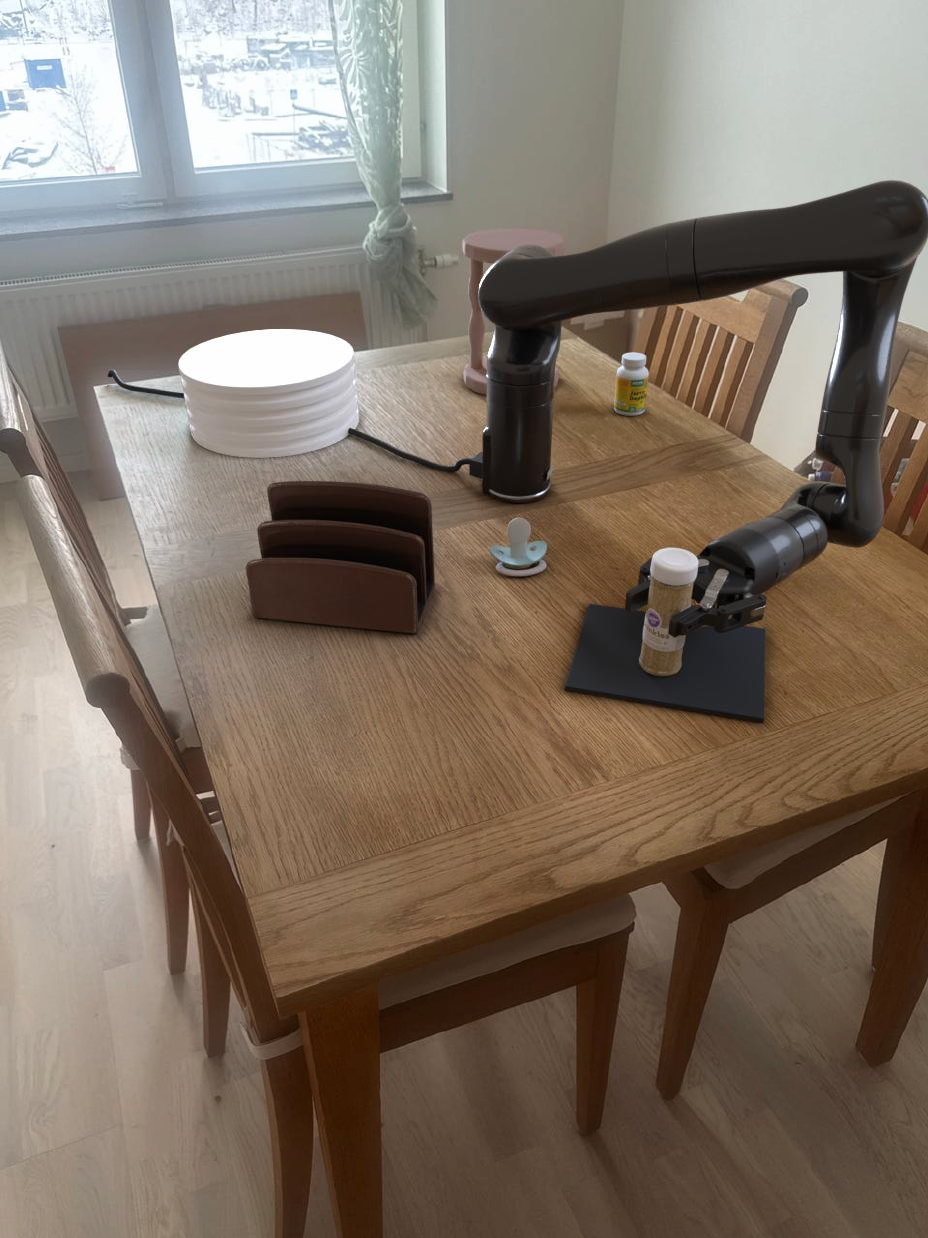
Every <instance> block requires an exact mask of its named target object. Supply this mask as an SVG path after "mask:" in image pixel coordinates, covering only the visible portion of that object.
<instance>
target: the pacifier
mask: <svg viewBox="0 0 928 1238" xmlns="http://www.w3.org/2000/svg"><path fill="white" fill-rule="evenodd" d="M531 528H532V527H531V525H530V522H529V521H528V520H526V519H525V518H523V517H515V518H513V519H512V520H510V521H509V523H508V525H507V528H506V534H507V537H508V539H509V547H506V546H502V545H490V546H489V547H488V548H489V552H490V554H491V555H492V556H493V558H495V559H496V560H497V561H498V563H497V565H496V566H495V570H496V571H497V572H498V573H499V574H501V575H505V576H508V577H529V576H533V575H537V574H540V573H542V572H543V571H545V570H546V568H547V563H546V561H545V560H543V557H544V556H545V555H546V553H547V551H548V545H547V542H546V541H544V540H535V541H531V542H529V543H528V540H529V539H530V536H531V533H532V532H531V531H532V529H531ZM532 549H534V550H532ZM533 564H536V566H535V567H532V568H529V567H531V566H532V565H533ZM527 568H528V569H527Z"/></svg>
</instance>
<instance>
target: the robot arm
mask: <svg viewBox="0 0 928 1238" xmlns="http://www.w3.org/2000/svg"><path fill="white" fill-rule="evenodd" d="M927 242H928V197H927V196H926V194H925V193H924V192H923V191H922V190H921V189H920V188H919V187H917V186H916V185H913V184H911V183H910V182H906V181H903V180H898V179H897V180H896V179H888V180H880V181H877V182H876V181H875V182H873V183H870V184H866V185H863V186H860V187H856V188H853V189H850V190H847V191H844V192H840V193H837V194H834V195H829V196H825V197H822V198H819V199H815V200H811V201H808V202H804V203H800V204H795V205H791V206H790V205H789V206H785V207H777V208H766V209H754V210H745V211H736V212H728V213H723V214H715V215H714V214H713V215H707V216H701V217H694V218H688V219H685V220H678V221H673V222H668V223H664V224H660V225H656V226H653V227H649V228H646V229H643V230H640V231H637V232H634V233H632V234H628V235H626V236H623V237H619V238H618V239H615V240H612V241H611V242H610V241H609V242H608V243H605V244H603V245H599V246H598V247H597V246H596V247H595V248H591V249H589V250H586V251H581V252H577V253H569V254H563V255H561V256H553V254H552V253H550V252H549V251H548V250H546V249H545V248H543V247H540V246H537V245H523V246H519V247H516V248H514V249H512V250H511V251H509V252H508V253H507V254H505V255H504V256H502V257H501V258H500V259H499V260H497V261H496V262H495V263H494V264H493V263H492V264H491V265H490V267H489V268H488V269H487V270H488V271H487V270H486V272H485V273H484V274H483V279H482V281H481V284H480V287H479V292H478V301H479V306H480V308H481V313H482V315H484V317H485V318H486V319H487V321H489V322H490V323H491V324H493V325H494V332H493V337H492V340H491V344H490V347H489V349H488V353H487V356H486V357H487V395H486V426H485V428H484V430H483V432H482V437H481V438H482V439H481V440H482V445H481V447H482V451H480V452H479V453H477V454H476V455H474V456H472V457H463V458H460V459H458V460H457V461H456V462H455V464H454V465H443V464H439V463H436V462H434V461H430V460H428V459H425V458H422V457H420V456H417V455H415V454H412V453H409V452H407V451H404V450H402V449H399V448H397V447H395V446H393V445H391V444H390V443H388V442H385V441H383V440H382V439H378V438H376V437H375V436H371V435H369V434H367V433H365V432H362V431H359V430H357V429H356V428H355V429H352V428H349V429H348V433H349V435H351V436H353V437H356V438H358V439H361V440H364V441H366V442H368V443H370V444H374V445H375V446H378V447H380V448H382V449H383V450H386V451H388V452H390V453H392V454H393V455H395V456H398V457H400V458H402V459H405V460H408V461H410V462H413V463H416V464H418V465H421V466H423V467H425V468H428V469H432V470H436V471H441V472H446V473H454V472H458V471H460V470H461V468H462V466H464V465H469V466H468V470H469V471H468V472H469V473H468V475H469V476H470V477H474V478H478V479H481V481H482V483H481V484H482V485H481V489H482V490H481V494H482V495H485V496H490V497H491V498H493V499H495V500H498V501H502V502H505V503H511V504H514V503H515V504H523V503H524V504H525V503H532V502H536V501H539V500H541V499H544V498H545V497H547V496H548V494H549V493H550V491H551V475H552V473H553V471H554V463H552V442H553V441H552V440H553V423H554V420H553V419H554V401H555V387H554V382H555V366H556V365H557V360H558V356H559V352H560V347H561V341H562V340H561V339H562V328H563V326H562V325H563V321H566V320H571V319H574V318H579V317H583V316H588V315H594V314H602V313H603V314H604V313H614V312H615V313H617V312H627V311H628V312H629V311H636V310H644V309H653V308H660V307H670V306H679V305H685V304H691V303H697V302H698V303H699V302H706V301H710V300H716V299H720V298H723V297H729V296H732V295H736V294H739V293H743V292H746V291H749V290H752V289H755V288H759V287H762V286H764V285H768V284H770V283H773V282H776V281H780V280H783V279H787V278H791V277H799V276H805V275H815V274H829V273H841V272H842V301H841V309H840V319H839V324H838V330H837V336H836V340H835V345H834V349H833V353H832V357H831V360H830V365H829V368H828V373H827V376H826V377H827V378H826V382H825V386H824V391H823V396H822V402H821V408H820V414H819V419H818V426H817V433H816V437H815V446H814V451H815V456H816V457H817V458H818V459H819V460H821V461H823V462H825V463H826V464H830V465H832V466H834V467H836V468H838V469H839V470H840V471H841V473H842V476H843V480H844V483H845V484H841V483H833V482H829V481H810V482H806V483H804V484H802V485H800V486H799V487H797V488H796V489H795V490H794V492H792V494H791V495H790V496H789V498H788V499H787V500H786V501H785V502H784V503H783V504H782V506H781V507H779V509H778V510H775V512H772V513H771V514H769V515H766V516H765V517H763V518H761V519H757V520H753V521H751V522H749V523H745V525H743V526H741V527H739V528H737V529H734V530H733V531H730V532H729V533H727V534H725V535H723V536H721V537H718V538H717V539H715V540H713V541H711V542H710V543H708V544H707V545H706V546H705V547H704V548H703V549H702V550H701V551H700V553H699V554H697V555H695V556H696V557H697V559H698V571H697V577H696V579H695V582H694V584H693V589H692V596H691V600H693V601H695V602H696V603H697V604H699V606H698V605H696V604H693V605H692V604H691V606H690V607H689V608H687V609H685V610H683V611H682V612H680V613H678V614H676V615H675V616H673V617H672V618H671V620H670V623H669V630H668V634H669V635H671V636H673V637H674V638H676V637H677V636H679V635H681V636H683V635H687V634H688V633H690V632H692V631H694V630H695V629H697V628H699V627H703V628H704V627H707V626H708V625H709V626H713V627H715V628H714V630H715V631H716V632H718V633H725V632H728V631H731V630H733V629H736V628H739V627H742V626H749V625H750V624H754V623H756V622H759V621H762V620H763V619H764V614H765V612H766V606H767V600H768V597H767V596H766V595H764V593H765V592H768V591H769V590H771V589H772V588H774V587H776V586H777V585H779V584H781V583H783V582H784V581H786V580H787V579H788V578H790V576H791V575H792V574H793V573H795V572H798V571H799V570H801V569H802V568H804V567H805V566H807V565H809V564H810V563H812V562H814V561H815V560H816V559H817V558H818V557H820V556H821V555H822V554H823V552H824V551H825V550H826V548H827V545H828V544H832V545H833V544H834V545H837V546H842V547H847V548H853V549H859V548H863V547H866V546H868V545H869V544H870V543H872V542H873V541H874V539H876V537H877V536H878V535H879V533H880V531H881V529H882V526H883V524H884V523H883V522H884V519H885V498H884V490H883V483H882V469H881V456H880V449H881V443H882V437H883V432H884V427H885V421H886V414H887V410H888V409H887V408H888V403H889V396H890V389H891V380H892V372H893V371H892V368H893V359H894V349H895V341H896V334H897V327H898V323H899V318H900V313H901V309H902V305H903V301H904V298H905V294H906V291H907V288H908V284H909V282H910V279H911V277H912V274H913V270H914V268H915V265H916V263H917V259H918V257H919V256H920V254H921V253H922V251H923V250H924V247H925V246H926V244H927ZM107 378H113V380H114V381H115V383H116V384H117V386H119V387H120V388H122V389H124V390H127V391H131V392H134V393H135V392H137V393H142V394H151V395H159V396H164V397H170V398H176V399H177V398H178V399H184V400H185V398H184V392H180V391H173V390H166V389H159V388H153V387H145V386H137V385H132V384H129V383H126V382H124V381H122V379H121V378H120V376H119V374H118V372H117V371H116V370H115V369H110V370H109V371H108V373H107ZM551 463H552V465H551ZM664 548H665V547H663V548H661V549H664ZM652 557H653V556H651V557H650V558H649V559H648V560H646V561H645V562H644V563H643V564H642V565H641V566H639V572H638V580H637V585H635V586H633V587H632V588H630V589H627V591H626V592H625V601H624V609H626V610H627V611H629V612H631V613H632V612H634V611H636V610H638V611H639V610H640V609H641V608H643V607H645V606H647V604H648V597H649V589H650V583H651V572H650V568H651V562H652ZM730 616H731V617H730Z"/></svg>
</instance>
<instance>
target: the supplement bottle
mask: <svg viewBox="0 0 928 1238" xmlns="http://www.w3.org/2000/svg"><path fill="white" fill-rule="evenodd" d="M620 364H621V366H620V367H618V368H617V371H616V378H615V388H614V389H615V391H614V405H613V409H614V412H615V413H616V414H619V415H621V416H626V417H635V416H640V415H643V413H645V411H646V404H647V396H648V385H649V378H650V377H649V376H650V372H649V370H648V368H647V367H646V364H647V355H645V354H643V353H641V352H635V351H634V352H626V353H623V354H622V356H621V363H620Z"/></svg>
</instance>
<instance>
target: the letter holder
mask: <svg viewBox="0 0 928 1238" xmlns="http://www.w3.org/2000/svg"><path fill="white" fill-rule="evenodd" d="M266 493H267V500H268V506H269V513H270V518H271V520H265V521H262V522H261V523H260V524H259V525H258V526H257V528H256V532H257V533H256V534H257V540H258V545H259V546H258V547H259V552H260V557H261V558H255V559H251V560H248V561H247V563H246V565H245V574H246V579H247V585H248V590H249V591H248V592H249V600H250V606H251V610H252V616H253V618H254V619H263V620H264V619H265V620H275V621H284V622H293V623H302V624H312V625H319V626H330V627H331V626H334V627H342V628H351V629H352V628H353V629H364V630H374V631H382V632H391V633H399V634H400V633H402V634H412V635H418V634H419V631H420V629H421V627H422V623H423V621H424V619H425V616H426V613H427V611H428V609H429V606H430V603H431V601H432V600H433V599H432V598H433V596H434V593H435V589H436V582H435V581H436V578H435V575H436V574H435V552H434V551H435V549H434V536H433V535H434V533H433V531H434V530H433V507H432V501H431V499H430V498H429V496H427V495H426V494H425V493H422V492H420V491H414V490H410V489H406V488H405V489H404V488H401V487H400V488H399V487H396V486H395V487H394V486H389V485H383V484H382V485H381V484H374V483H366V482H356V481H355V482H353V481H334V480H289V481H276V482H275V481H274V482H272V483H270V484H269V485H268V486H267V490H266Z"/></svg>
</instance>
